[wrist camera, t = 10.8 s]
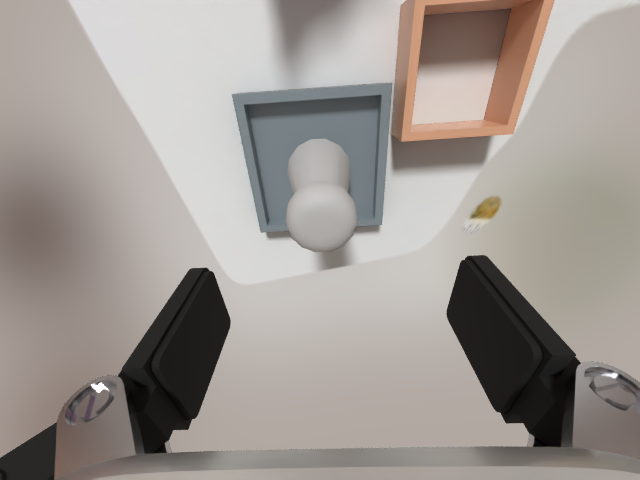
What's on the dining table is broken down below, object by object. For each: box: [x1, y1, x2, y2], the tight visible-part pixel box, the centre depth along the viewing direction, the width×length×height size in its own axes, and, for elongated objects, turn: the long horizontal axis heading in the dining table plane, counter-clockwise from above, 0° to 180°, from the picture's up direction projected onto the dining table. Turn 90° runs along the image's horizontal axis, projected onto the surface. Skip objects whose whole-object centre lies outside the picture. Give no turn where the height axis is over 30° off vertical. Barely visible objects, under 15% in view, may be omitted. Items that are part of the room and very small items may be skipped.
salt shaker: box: [286, 139, 357, 252], centre depth 20 cm, size 6×6×13 cm
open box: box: [391, 0, 554, 142], centre depth 21 cm, size 9×9×4 cm
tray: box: [232, 83, 392, 233], centre depth 26 cm, size 13×13×2 cm
